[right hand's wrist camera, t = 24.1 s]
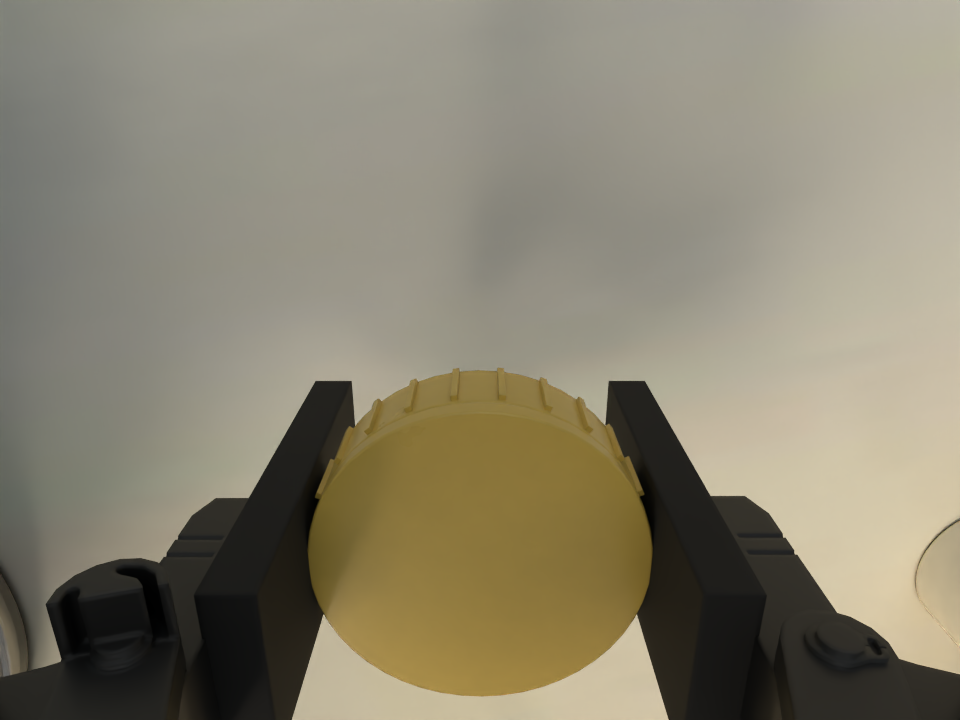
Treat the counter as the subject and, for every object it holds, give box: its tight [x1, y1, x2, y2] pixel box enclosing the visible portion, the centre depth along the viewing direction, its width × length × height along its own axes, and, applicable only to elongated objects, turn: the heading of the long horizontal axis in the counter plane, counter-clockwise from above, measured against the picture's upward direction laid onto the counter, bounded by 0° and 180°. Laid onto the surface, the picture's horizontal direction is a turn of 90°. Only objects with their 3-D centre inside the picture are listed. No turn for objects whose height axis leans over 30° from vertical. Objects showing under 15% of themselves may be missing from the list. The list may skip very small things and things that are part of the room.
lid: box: [308, 368, 653, 696], centre depth 11 cm, size 6×6×2 cm
